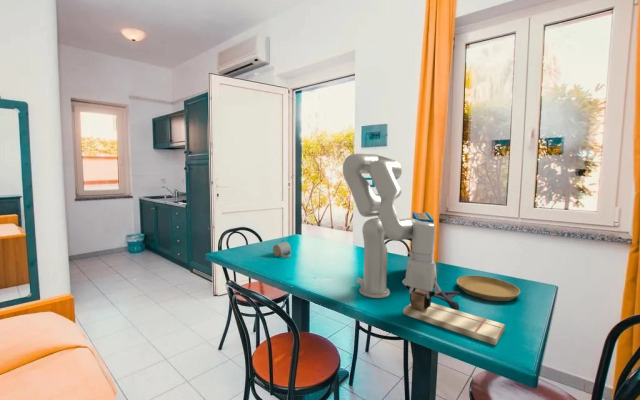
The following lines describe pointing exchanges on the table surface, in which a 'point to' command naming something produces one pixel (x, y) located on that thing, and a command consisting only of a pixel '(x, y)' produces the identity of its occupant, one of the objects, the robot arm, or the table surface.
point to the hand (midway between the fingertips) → (420, 305)
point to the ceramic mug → (282, 249)
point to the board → (459, 322)
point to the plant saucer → (488, 288)
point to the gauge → (418, 299)
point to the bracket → (448, 298)
